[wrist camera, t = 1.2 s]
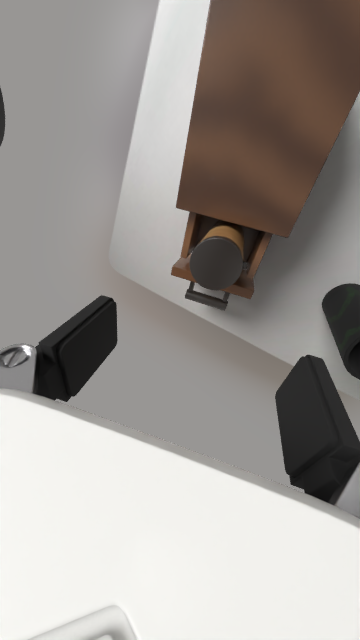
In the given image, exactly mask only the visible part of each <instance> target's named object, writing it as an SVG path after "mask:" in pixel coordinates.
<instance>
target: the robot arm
mask: <svg viewBox="0 0 360 640" xmlns="http://www.w3.org/2000/svg"><path fill="white" fill-rule="evenodd" d="M116 344H117V311H116V302H114V300H113V299H112V298H109V297H106V296H100V297H98V298H97V299H96V300H94V301H93V302H92V303H90V304H89V305H88V306H86V307H85V308H84V309H82V310H81V311H80V312H79V313H77V314H76V315H75V316H73V317H72V318H71V319H70V320H68V321H67V322H65V323H64V324H63V325H61V326H60V327H59V328H58V329H56V330H55V331H53V332H52V333H51V334H49V335H48V336H47V337H46V338H44V339H43V340H41V341H40V342H39V345H38V346H36V347H35V348H34V347H33V346H32V345H29V344H15V345H11V346H8V347H5V348H3V349H2V350H0V640H360V441H359V439H358V437H357V435H356V432H355V430H354V428H353V426H352V423H351V421H350V419H349V417H348V414H347V412H346V410H345V408H344V406H343V403H342V401H341V399H340V397H339V394H338V392H337V390H336V387H335V385H334V383H333V381H332V378H331V376H330V374H329V372H328V369H327V367H326V365H325V363H324V361H323V359H321V358H318V357H315V356H311V355H306V356H305V357H301V358H300V359H299V361H298V362H297V363H296V365H295V366H294V368H293V369H292V370H291V372H290V373H289V375H288V376H287V378H286V379H285V380H284V382H283V383H282V385H281V386H280V387H279V389H278V390H277V392H276V396H275V399H276V406H277V413H278V421H279V428H280V435H281V443H282V450H283V456H284V464H285V470H286V473H287V474H288V475H290V482H291V485H293V486H296V487H299V488H302V489H304V491H305V493H303V492H300V491H297V490H295V489H292V488H290V487H288V486H285V485H283V484H280V483H277V482H275V481H272V480H270V479H267V478H264V477H262V476H259V475H256V474H254V473H251V472H248V471H246V470H243V469H240V468H238V467H235V466H232V465H230V464H227V463H224V462H222V461H219V460H217V459H214V458H211V457H209V456H206V455H203V454H200V453H198V452H195V451H192V450H190V449H187V448H184V447H182V446H179V445H176V444H173V443H171V442H168V441H165V440H163V439H160V438H157V437H155V436H152V435H149V434H146V433H144V432H141V431H138V430H136V429H133V428H130V427H127V426H124V425H122V424H119V423H116V422H114V421H111V420H108V419H105V418H103V417H100V416H97V415H94V414H92V413H89V412H86V411H83V410H81V409H78V408H75V407H72V406H69V405H66V404H63V403H60V402H57V401H55V400H56V399H60V400H63V401H65V402H67V401H68V400H69V399H70V398H71V396H75V395H76V394H77V393H78V392H79V391H80V390H81V388H82V387H83V386H84V385H85V383H86V382H87V381H88V380H89V379H90V377H91V376H92V375H93V373H94V372H95V371H96V370H97V369H98V367H99V366H100V365H101V364H102V363H103V361H104V360H105V359H106V357H107V356H108V355H109V354H110V353H111V351H112V350H113V349H114V348H115V346H116Z"/></svg>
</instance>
